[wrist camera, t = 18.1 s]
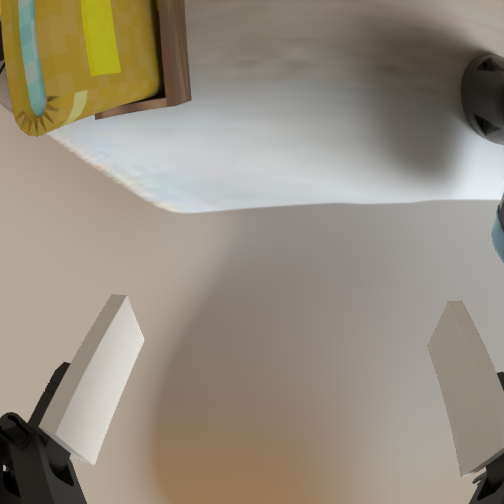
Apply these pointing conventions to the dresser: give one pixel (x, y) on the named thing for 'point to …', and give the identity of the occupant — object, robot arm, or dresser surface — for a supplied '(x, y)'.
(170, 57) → the narrow box
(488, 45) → the dresser surface
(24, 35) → the book
